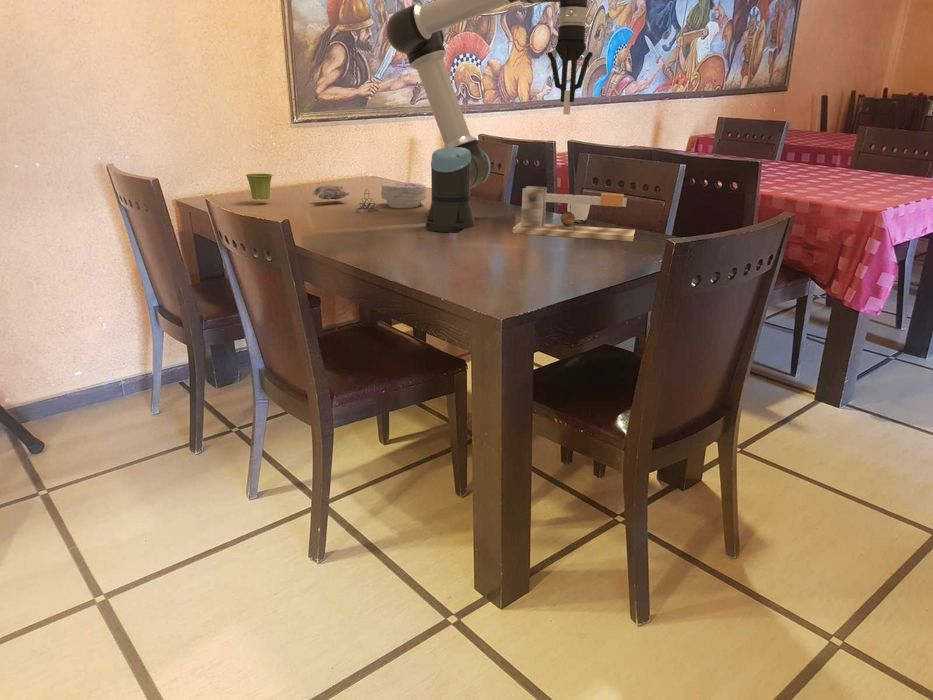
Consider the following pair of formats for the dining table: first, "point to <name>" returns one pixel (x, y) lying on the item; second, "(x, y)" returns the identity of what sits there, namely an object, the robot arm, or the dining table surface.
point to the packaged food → (330, 192)
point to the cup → (579, 210)
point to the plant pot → (259, 185)
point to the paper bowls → (403, 194)
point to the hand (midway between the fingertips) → (566, 114)
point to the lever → (588, 199)
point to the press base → (579, 232)
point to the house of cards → (367, 209)
